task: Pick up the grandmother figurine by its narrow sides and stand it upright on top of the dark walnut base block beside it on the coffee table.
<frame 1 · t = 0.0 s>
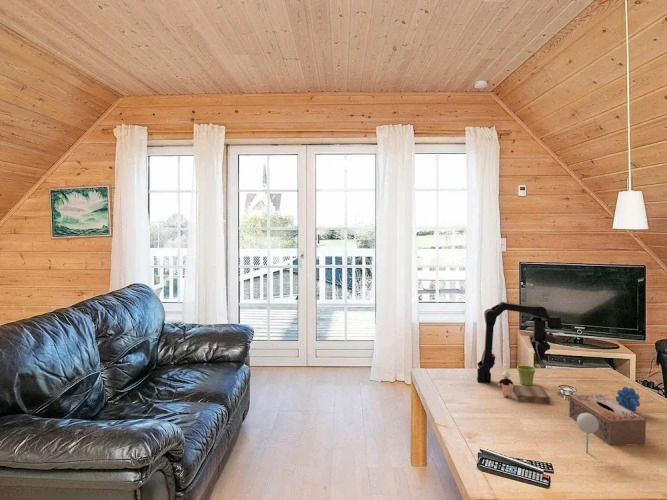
hand: (539, 357, 230), 15 cm above the table, tool pointing down, fingers open, 9 cm apart
grandmother figurine: (505, 396, 215), on the table
blue flower: (629, 413, 194), on the table
walnut base: (530, 396, 214), on the table
lollipop: (586, 453, 161), on the table
tissue box cover: (604, 430, 179), on the table
plant pot: (526, 384, 232), on the table
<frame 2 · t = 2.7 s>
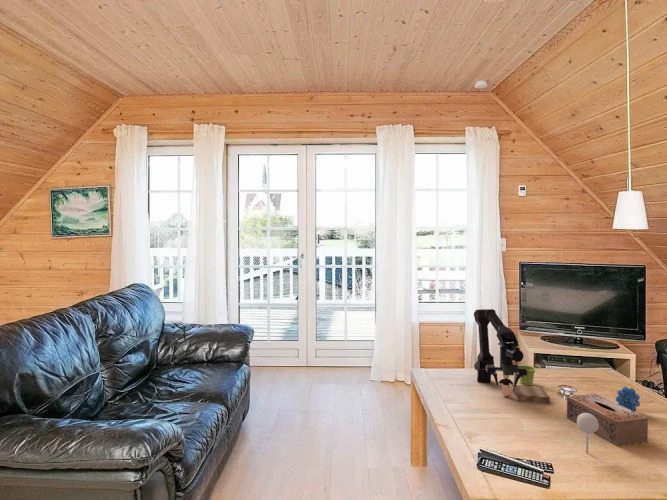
hand: (505, 386, 214), 5 cm above the table, tool pointing down, fingers closed on grandmother figurine, 8 cm apart
grandmother figurine: (505, 396, 215), on the table, touching gripper
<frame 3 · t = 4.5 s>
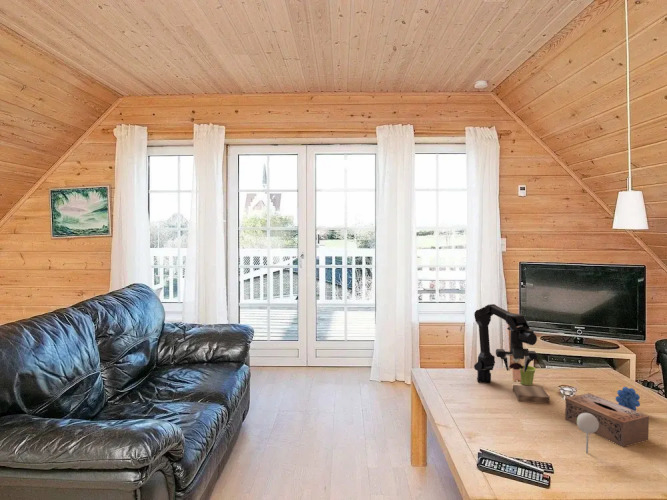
hand: (516, 371, 213), 13 cm above the table, tool pointing down, fingers closed on grandmother figurine, 8 cm apart
grandmother figurine: (515, 381, 214), point 8 cm above the table, touching gripper
when the fingers open (9 cm above the table, at t = 6.5 s): grandmother figurine stays where it is, resting on walnut base.
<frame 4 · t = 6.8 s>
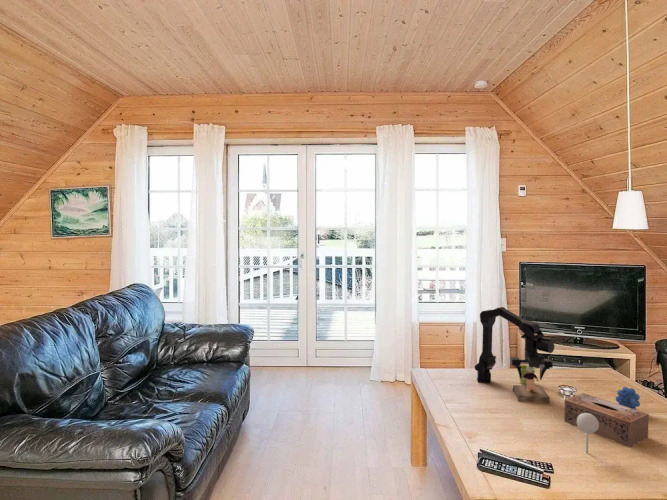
hand: (530, 379, 214), 9 cm above the table, tool pointing down, fingers open, 9 cm apart
grandmother figurine: (530, 391, 214), point 3 cm above the table, touching walnut base
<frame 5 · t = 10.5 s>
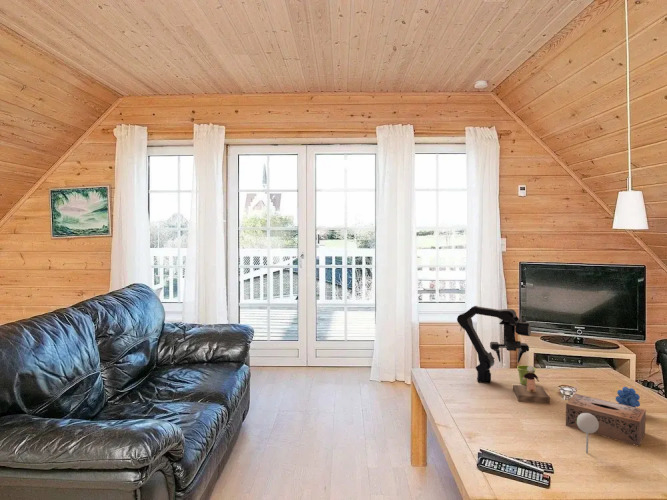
hand: (508, 362, 228), 13 cm above the table, tool pointing down, fingers open, 9 cm apart
at the end: grandmother figurine inside the target area on the walnut base (0.2 cm from its centre), point 2.8 cm above the walnut base's base; grandmother figurine tilted 0°; the gripper is holding nothing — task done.
